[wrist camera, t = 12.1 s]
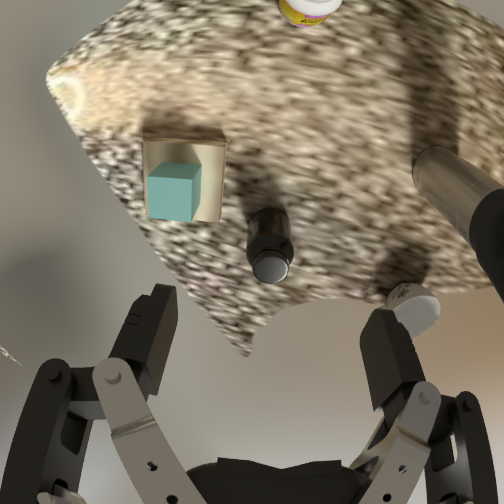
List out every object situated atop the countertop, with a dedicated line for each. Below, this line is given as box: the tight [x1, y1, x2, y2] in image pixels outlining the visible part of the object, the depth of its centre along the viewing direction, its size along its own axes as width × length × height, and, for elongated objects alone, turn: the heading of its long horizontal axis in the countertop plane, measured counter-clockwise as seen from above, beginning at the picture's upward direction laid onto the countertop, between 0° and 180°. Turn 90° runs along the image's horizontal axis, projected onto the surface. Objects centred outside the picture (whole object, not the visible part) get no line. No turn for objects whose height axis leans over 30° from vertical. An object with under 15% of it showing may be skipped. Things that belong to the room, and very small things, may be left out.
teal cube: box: [147, 162, 202, 222], centre depth 39 cm, size 6×6×6 cm
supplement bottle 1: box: [246, 208, 294, 284], centre depth 43 cm, size 7×7×12 cm
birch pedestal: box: [143, 137, 228, 223], centre depth 42 cm, size 12×12×3 cm
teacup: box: [368, 283, 440, 339], centre depth 52 cm, size 15×12×8 cm
